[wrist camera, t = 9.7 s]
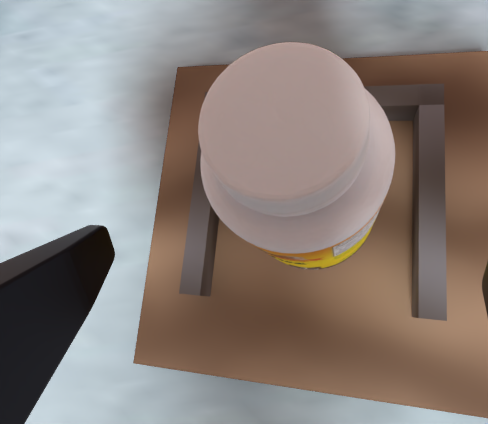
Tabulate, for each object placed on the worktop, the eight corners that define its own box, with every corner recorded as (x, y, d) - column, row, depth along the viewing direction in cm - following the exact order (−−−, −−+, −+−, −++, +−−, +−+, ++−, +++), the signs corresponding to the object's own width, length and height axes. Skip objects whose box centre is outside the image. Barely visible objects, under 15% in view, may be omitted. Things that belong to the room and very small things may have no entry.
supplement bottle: (231, 213, 19) (121, 126, 10) (312, 135, 19) (282, -33, 10) (311, 298, 18) (273, 294, 8) (401, 212, 17) (473, 103, 8)
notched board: (497, 413, 16) (527, 433, 13) (145, 359, 20) (116, 367, 17) (484, 65, 19) (506, 29, 17) (185, 78, 23) (166, 50, 21)
